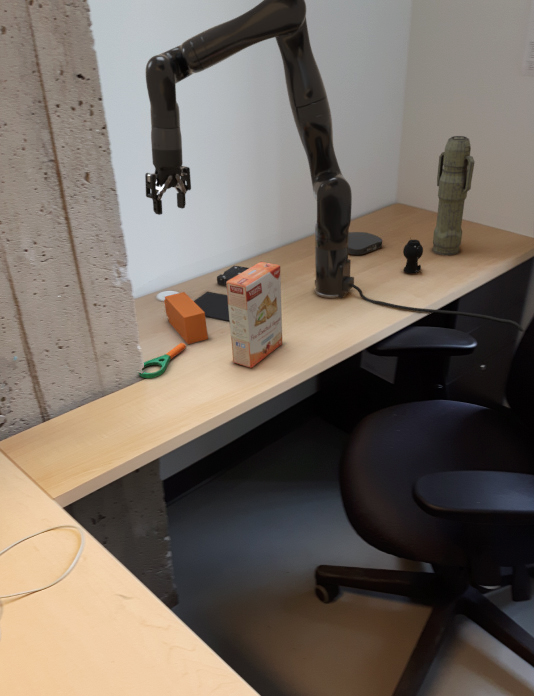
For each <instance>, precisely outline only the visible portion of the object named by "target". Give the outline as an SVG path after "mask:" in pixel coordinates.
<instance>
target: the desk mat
mask: <svg viewBox="0 0 534 696" xmlns="http://www.w3.org/2000/svg"><path fill="white" fill-rule="evenodd" d="M193 301H194V302H195V303H196V304H197V305H198V306H199V307H200V308H201V309H202V310H203V311H204V312H205V318H210V319H214V320H219V321H224V322H229V323H230V320H229V308H228V296H227V294H222V293H218V292H211V291H206V292H205V293H204V294H201V296H198V297H197V298H195V300H193Z"/></svg>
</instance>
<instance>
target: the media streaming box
mask: <svg viewBox="0 0 534 696" xmlns="http://www.w3.org/2000/svg"><path fill="white" fill-rule="evenodd" d="M382 247H383V238H382V237H379V236H378V235H376V234H373V233H370V232H366V231H365V232H364V231H350V232H349V236H348V255H353V256H360V255H361V256H362V255H364V254H367V253H371V252H374V251H376V250H379V249H380V248H382Z"/></svg>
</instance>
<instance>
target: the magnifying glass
mask: <svg viewBox="0 0 534 696" xmlns="http://www.w3.org/2000/svg"><path fill="white" fill-rule="evenodd" d="M186 348H187V345H186V344H185V343H183V342H180V343H179V344H177V345H176V346H174V347H173V348H172V349H170V350H169V351H167V352H166V353H165V354H162V355H160V356H157V357H155V358H151V359H149V360H147V361H144V362H143V363H144V368H143V369H145V368H146V367H149V366H153V365H156V366H160V367H161V368H160V369H158V370H157V371H153V372H145V371H143V372H144V373H142V374H141V373H139V372H138V375H139V377H141V378H144V379H153V378H156V377H159V376H162V375H163V374H164V373H165V372H166V370H167V367H168V366H169V363H170V361H171V360H172V359H173V358H174V357H176V356H177V355H178V354H181V352H182V351H184V350H185V349H186Z"/></svg>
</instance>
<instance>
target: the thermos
mask: <svg viewBox="0 0 534 696" xmlns="http://www.w3.org/2000/svg"><path fill="white" fill-rule="evenodd" d="M471 149H472V148H471V141H470V138H469V137H467V136H464V135H454V136H451V137H449V138H448V139H447V141H446V144H445V147H444V151H442V152H441V153H440V155H439V156H438V166H437V175H436V186H437V187H438V190H437V191H438V192H437V198H438V206H437V215H436V225H435V227H434V230H433V236H432V252H433V253H434V254H436V255H440V256H455V255H458V253H460V248H461V247H460V246H461V244H462V238H463V229H462V223H463V217H464V216H463V215H464V208H465V202H466V199H467V197H468V192H469V191H470V190H471V189H472V181H473V174H474V168H475V160H474V157H473V156H472V155H471Z"/></svg>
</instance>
